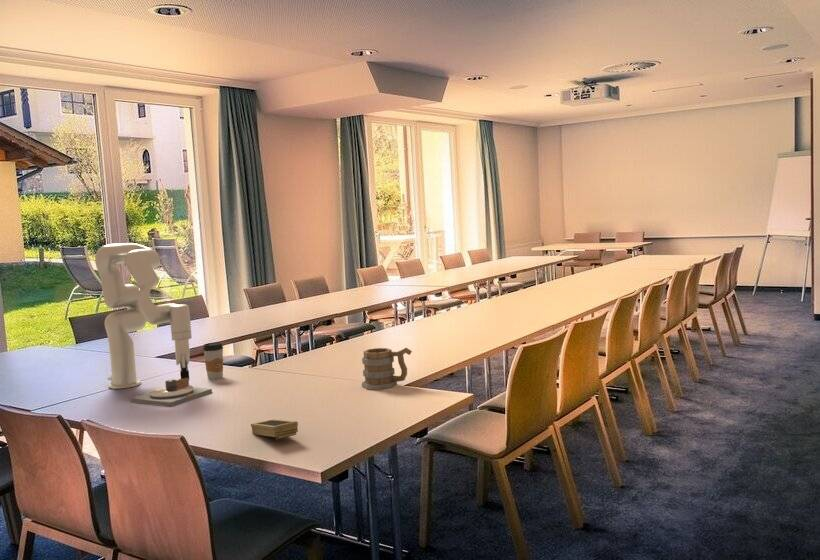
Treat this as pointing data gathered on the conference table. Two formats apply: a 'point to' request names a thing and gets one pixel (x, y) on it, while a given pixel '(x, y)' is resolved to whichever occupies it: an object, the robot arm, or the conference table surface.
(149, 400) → the dial plate
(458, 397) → the conference table surface
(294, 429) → the box
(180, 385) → the dial
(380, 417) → the conference table surface
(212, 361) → the coffee cup
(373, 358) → the tankard
